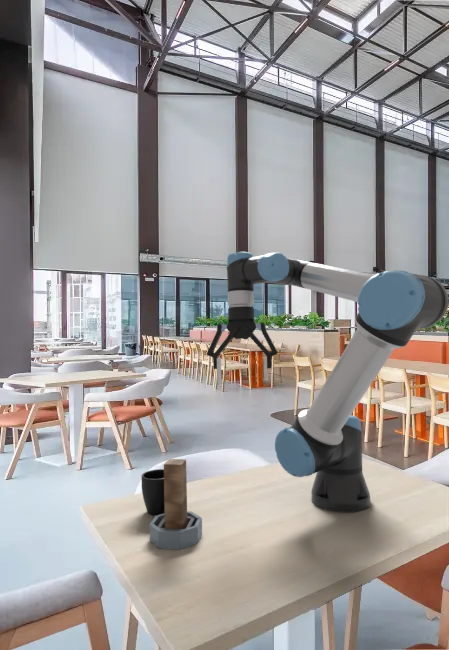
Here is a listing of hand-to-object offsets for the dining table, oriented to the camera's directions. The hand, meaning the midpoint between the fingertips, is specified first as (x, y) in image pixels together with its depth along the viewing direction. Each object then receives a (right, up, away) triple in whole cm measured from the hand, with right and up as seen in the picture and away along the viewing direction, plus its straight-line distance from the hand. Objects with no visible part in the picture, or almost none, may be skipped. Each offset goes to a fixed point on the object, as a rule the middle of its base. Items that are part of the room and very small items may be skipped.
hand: (242, 380), depth 122 cm
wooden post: (-16, -31, -28) cm, 44 cm away
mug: (-21, -32, -15) cm, 41 cm away
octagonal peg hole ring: (-16, -31, -28) cm, 45 cm away
